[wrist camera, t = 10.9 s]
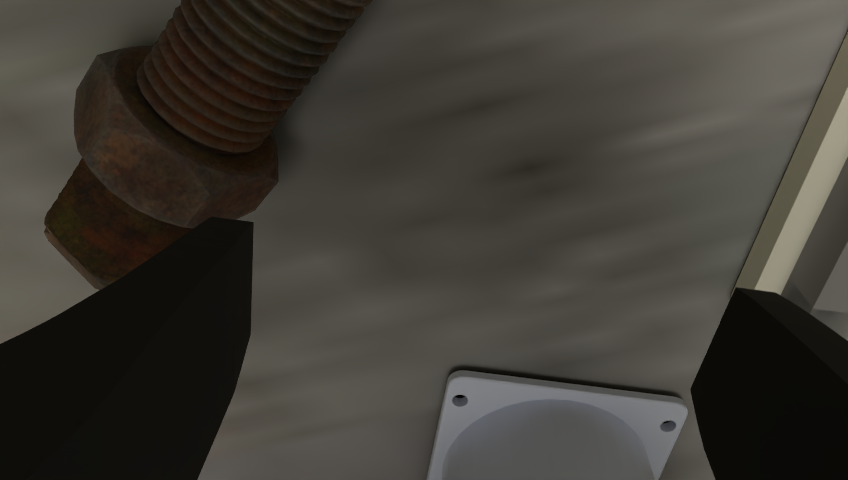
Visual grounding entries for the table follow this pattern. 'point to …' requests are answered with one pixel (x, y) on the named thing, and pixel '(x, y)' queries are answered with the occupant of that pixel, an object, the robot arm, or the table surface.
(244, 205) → the bolt
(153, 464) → the robot arm
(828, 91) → the keyhole plate
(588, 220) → the table surface
